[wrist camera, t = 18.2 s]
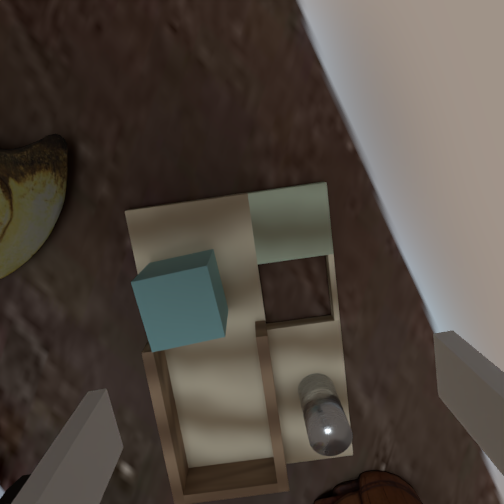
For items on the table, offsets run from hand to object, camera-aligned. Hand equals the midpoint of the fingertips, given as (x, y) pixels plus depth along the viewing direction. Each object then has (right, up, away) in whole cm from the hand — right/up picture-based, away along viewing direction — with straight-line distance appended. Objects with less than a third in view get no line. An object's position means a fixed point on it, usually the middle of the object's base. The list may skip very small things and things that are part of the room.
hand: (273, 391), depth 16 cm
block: (-7, +2, +21) cm, 22 cm away
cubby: (-4, -9, +24) cm, 26 cm away
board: (-1, -3, +24) cm, 24 cm away
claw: (-25, +7, +23) cm, 35 cm away
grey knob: (+5, -8, +24) cm, 26 cm away
